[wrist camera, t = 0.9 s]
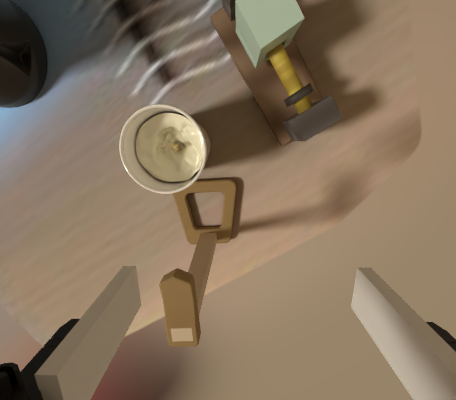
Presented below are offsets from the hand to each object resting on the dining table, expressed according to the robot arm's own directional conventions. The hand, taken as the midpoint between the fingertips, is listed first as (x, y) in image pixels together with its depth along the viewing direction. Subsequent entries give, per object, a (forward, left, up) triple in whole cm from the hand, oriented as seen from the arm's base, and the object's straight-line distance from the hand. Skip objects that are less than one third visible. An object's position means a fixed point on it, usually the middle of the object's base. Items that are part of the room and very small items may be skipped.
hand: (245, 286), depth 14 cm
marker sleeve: (-16, +13, -23) cm, 31 cm away
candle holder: (-11, -4, -27) cm, 29 cm away
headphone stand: (0, -7, -27) cm, 27 cm away
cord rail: (-13, +13, -26) cm, 32 cm away
